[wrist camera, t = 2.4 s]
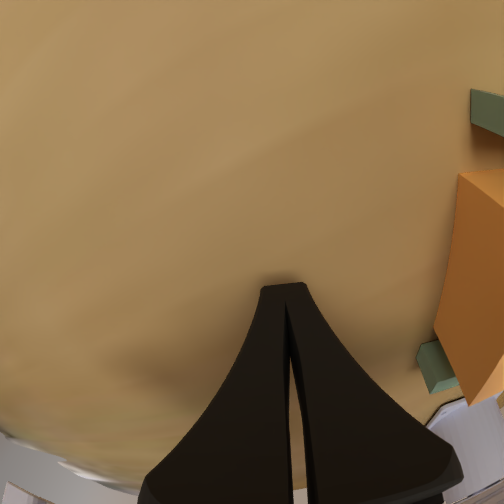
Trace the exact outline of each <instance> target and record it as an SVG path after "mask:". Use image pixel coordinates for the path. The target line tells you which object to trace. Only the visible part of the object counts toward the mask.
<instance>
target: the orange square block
mask: <svg viewBox="0 0 504 504" xmlns="http://www.w3.org/2000/svg"><path fill="white" fill-rule="evenodd" d="M433 328H434V330H435V332H436V334H437V336H438V338H439V341H440V343H441V345H442V347H443V349H444V351H445V353H446V355H447V357H448V360H449V362H450V364H451V366H452V368H453V371H454V373H455V375H456V378H457V380H458V382H459V385H460V387H461V390H462V392H463V394H464V397H465V399H466V402H467V405H468V407H470V406H472V405H474V404H476V403H479V402H481V401H483V400H485V399H487V398H489V397H491V396H493V395H495V394H497V393H499V392H501V391H503V390H504V169H494V170H485V171H476V172H467V173H459V174H458V189H457V202H456V212H455V221H454V229H453V236H452V243H451V249H450V255H449V261H448V267H447V272H446V277H445V282H444V286H443V291H442V295H441V299H440V304H439V308H438V311H437V315H436V319H435V323H434V326H433Z"/></svg>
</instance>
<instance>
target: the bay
mask: <svg viewBox="0 0 504 504" xmlns="http://www.w3.org/2000/svg"><path fill="white" fill-rule="evenodd" d="M471 123H473V124H475V125H478V126H480V127H482V128H485V129H487V130H489V131H491V132H494V133H496V134H498V135H500V136H502V137H504V96H503V95H498V94H494V93H490V92H485V91H480V90H475V89H471ZM416 359H417V362H418V364H419V367H420V369H421V372H422V374H423V377H424V380H425V383H426V385H427V388H428V391H429V394H433V393H436V392H440V391H443V390H446V389H449V388H452V387H455V386H458V385H459V382H458V380H457V378H456V375H455V373H454V371H453V368H452V366H451V364H450V362H449V360H448V357H447V355H446V353H445V351H444V349H443V347H442V345H441V343H440V341H439V340H436V341H432V342H428V343H424V344H421V347H420V349H419V351H418V354H417V356H416Z"/></svg>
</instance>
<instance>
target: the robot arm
mask: <svg viewBox="0 0 504 504" xmlns="http://www.w3.org/2000/svg"><path fill="white" fill-rule="evenodd" d="M290 358H291V363H292V368H293V374H294V379H295V384H296V389H297V394H298V399H299V405H300V410H301V416H302V423H303V435H304V448H305V462H306V478H307V496H308V504H443V503H444V501H446V504H451V503H453V502H455V501H458V500H460V499H462V498H464V497H467V496H468V497H467V498H465V499H463V500H461V501H459V502H456V503H454V504H504V478H503V477H504V419H503V416H502V414H501V412H500V409H499V406H498V404H497V402H496V399H497V397H498V396H499V395H500V394H501V393H502V392H503V391H501V392H499V393H497V394H495V395H493V396H491V397H489V398H487V399H485V400H483V401H481V402H479V403H476V404H474V405H472V406H470V407H468V405H467V402H466V399H465V398H462V399H460V400H457V401H454V402H451V403H448V404H446V405H444V406H442V407H441V408H440V409H439V410H438V412H437V413H436V414H435V416H434V417H433V418H432V419H431V421H430V422H429V423H428V424H427V426H426V427H425V426H424V425H422V424H421V423H420V422H419V421H417V420H416V419H415V418H414V417H412V416H411V415H410V414H409V413H407V412H406V411H405V410H404V409H403V408H402V407H401V406H400V405H399V404H397V403H396V402H395V401H394V400H393V399H392V398H391V397H390V396H389V395H388V394H386V393H385V392H384V391H383V390H382V389H381V388H380V387H379V386H378V385H377V384H376V383H375V382H374V381H373V380H372V379H371V378H370V377H369V375H368V374H367V373H366V372H365V371H364V370H363V369H362V368H361V367H360V365H359V364H358V363H357V362H356V361H355V360H354V358H353V357H352V356H351V355H350V353H349V352H348V351H347V350H346V348H345V347H344V346H343V344H342V343H341V342H340V340H339V339H338V338H337V336H336V335H335V334H334V332H333V331H332V329H331V328H330V326H329V325H328V323H327V322H326V320H325V319H324V317H323V316H322V314H321V312H320V311H319V309H318V307H317V306H316V304H315V302H314V300H313V298H312V296H311V294H310V292H309V290H308V288H307V285H306V284H305V283H303V282H297V283H289V284H279V285H270V286H264V287H263V288H262V289H261V291H260V297H259V302H258V305H257V309H256V312H255V315H254V318H253V321H252V324H251V326H250V329H249V331H248V334H247V337H246V339H245V341H244V343H243V346H242V348H241V350H240V352H239V354H238V356H237V358H236V360H235V362H234V364H233V366H232V368H231V370H230V372H229V374H228V375H227V377H226V379H225V381H224V382H223V384H222V386H221V387H220V389H219V390H218V392H217V394H216V395H215V397H214V398H213V400H212V401H211V402H210V404H209V405H208V407H207V408H206V410H205V411H204V413H203V414H202V415H201V417H200V418H199V419H198V421H197V422H196V423H195V424H194V425H193V427H192V428H191V429H190V430H189V431H188V433H187V434H186V435H185V436H184V437H183V439H182V440H181V441H180V442H179V443H178V444H177V446H176V447H175V448H174V449H173V450H172V451H171V452H170V453H169V454H168V455H167V456H166V457H165V458H164V459H163V460H162V461H161V462H160V463H159V464H158V465H157V466H156V467H155V468H154V469H152V470H151V471H150V472H149V473H148V474H147V475H146V476H145V479H144V481H143V484H142V487H141V490H140V494H139V496H138V502H137V504H294V500H293V482H292V464H291V448H290V432H289V385H290ZM501 478H503V479H502V480H500V479H501ZM2 504H54V503H52V502H50V501H48V500H45V499H43V498H41V497H38V496H35V495H33V494H31V493H30V492H28V491H26V490H24V489H22V488H20V487H18V486H17V485H15V484H13V483H11V482H7V484H6V488H5V492H4V496H3V500H2Z"/></svg>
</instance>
